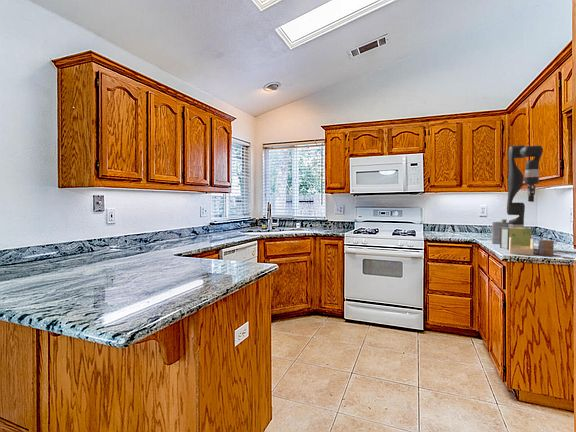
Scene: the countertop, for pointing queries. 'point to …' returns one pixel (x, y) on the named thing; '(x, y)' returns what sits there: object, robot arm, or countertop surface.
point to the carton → (521, 248)
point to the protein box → (515, 237)
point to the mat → (545, 255)
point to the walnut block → (545, 247)
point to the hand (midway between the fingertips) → (530, 201)
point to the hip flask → (498, 230)
